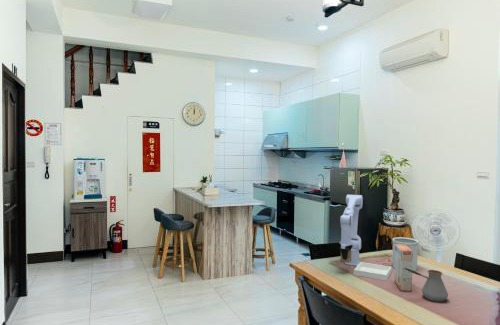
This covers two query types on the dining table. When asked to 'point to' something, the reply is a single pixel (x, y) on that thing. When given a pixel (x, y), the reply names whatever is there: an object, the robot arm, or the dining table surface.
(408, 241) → the utensil holder
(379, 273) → the tray
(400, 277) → the cracker box
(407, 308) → the dining table surface
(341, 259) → the walnut block
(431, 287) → the coffee pot
